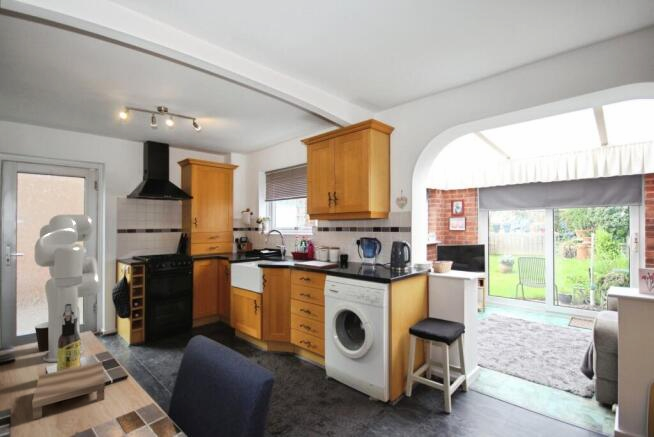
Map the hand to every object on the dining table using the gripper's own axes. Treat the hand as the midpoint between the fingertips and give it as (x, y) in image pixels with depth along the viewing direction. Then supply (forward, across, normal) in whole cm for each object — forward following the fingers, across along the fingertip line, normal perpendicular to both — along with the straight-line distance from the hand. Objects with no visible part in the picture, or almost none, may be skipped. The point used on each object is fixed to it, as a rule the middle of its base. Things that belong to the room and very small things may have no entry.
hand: (68, 331), depth 109 cm
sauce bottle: (+16, 0, 0) cm, 16 cm away
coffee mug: (+15, -35, -6) cm, 39 cm away
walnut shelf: (+15, +16, +1) cm, 22 cm away
